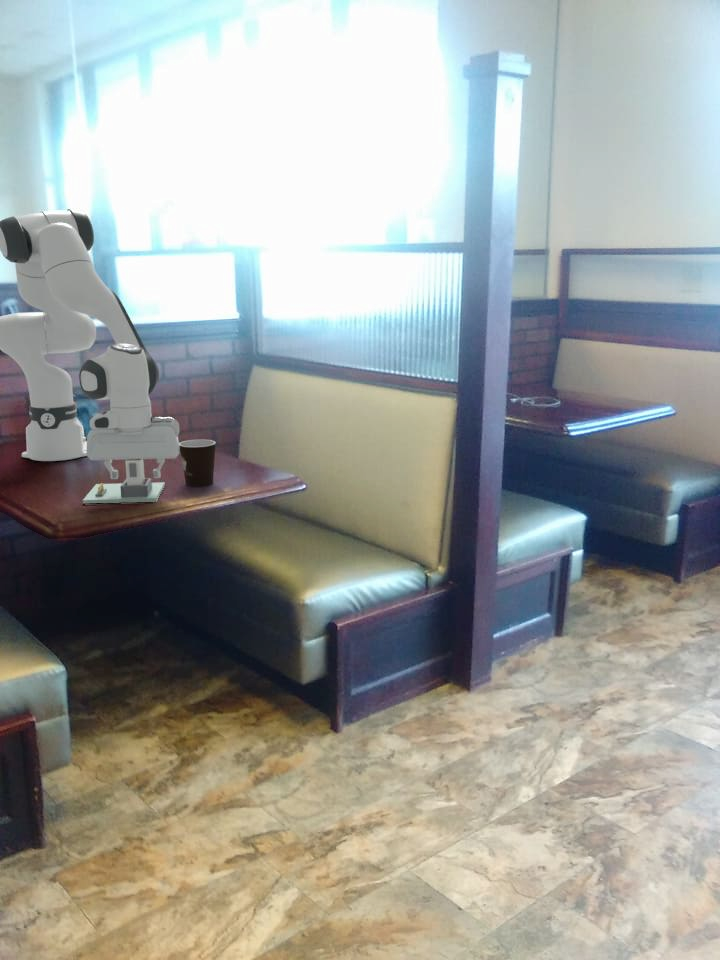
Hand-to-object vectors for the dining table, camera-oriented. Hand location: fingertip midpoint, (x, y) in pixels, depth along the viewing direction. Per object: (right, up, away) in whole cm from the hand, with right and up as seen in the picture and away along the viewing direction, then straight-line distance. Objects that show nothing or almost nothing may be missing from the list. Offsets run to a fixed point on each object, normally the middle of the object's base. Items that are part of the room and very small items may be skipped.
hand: (135, 477), depth 197 cm
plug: (0, -3, +1) cm, 4 cm away
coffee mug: (+12, -1, +14) cm, 18 cm away
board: (-3, -4, +3) cm, 6 cm away
